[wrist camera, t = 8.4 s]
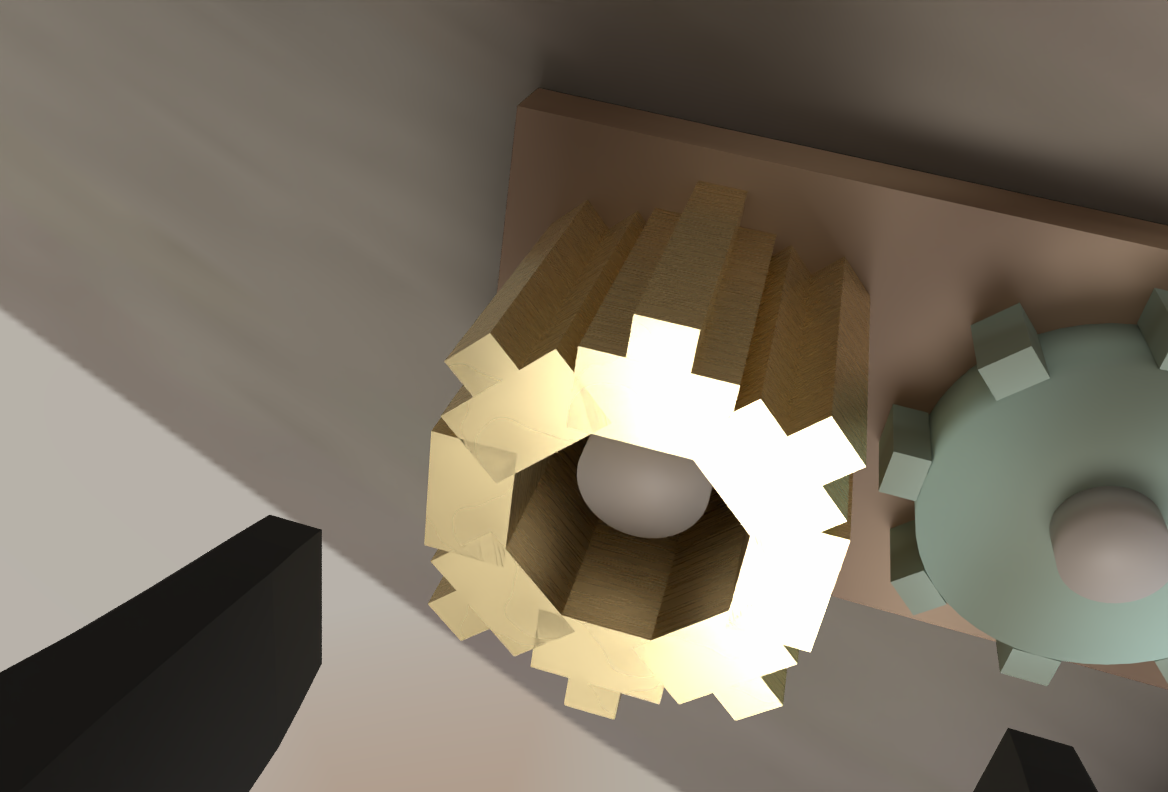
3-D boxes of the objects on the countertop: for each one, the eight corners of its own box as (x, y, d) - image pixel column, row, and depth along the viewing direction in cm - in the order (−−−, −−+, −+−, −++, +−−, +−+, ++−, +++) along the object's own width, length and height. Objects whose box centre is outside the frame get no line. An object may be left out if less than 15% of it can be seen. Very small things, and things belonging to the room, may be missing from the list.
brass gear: (901, 224, 16) (907, 378, 11) (794, 556, 19) (769, 766, 15) (553, 149, 16) (441, 268, 12) (514, 481, 20) (417, 661, 16)
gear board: (1421, 280, 15) (1606, 446, 11) (1180, 651, 20) (1254, 865, 16) (538, 88, 17) (436, 173, 13) (493, 464, 21) (407, 613, 18)
